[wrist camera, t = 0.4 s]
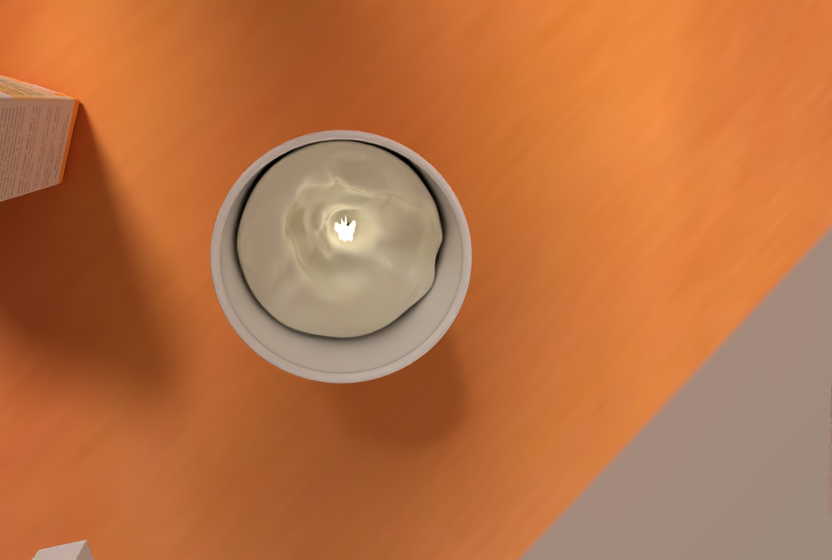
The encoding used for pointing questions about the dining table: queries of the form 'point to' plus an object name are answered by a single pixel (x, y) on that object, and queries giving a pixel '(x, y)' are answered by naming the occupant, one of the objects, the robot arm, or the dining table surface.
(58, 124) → the supplement box
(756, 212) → the dining table surface
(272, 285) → the candle holder
